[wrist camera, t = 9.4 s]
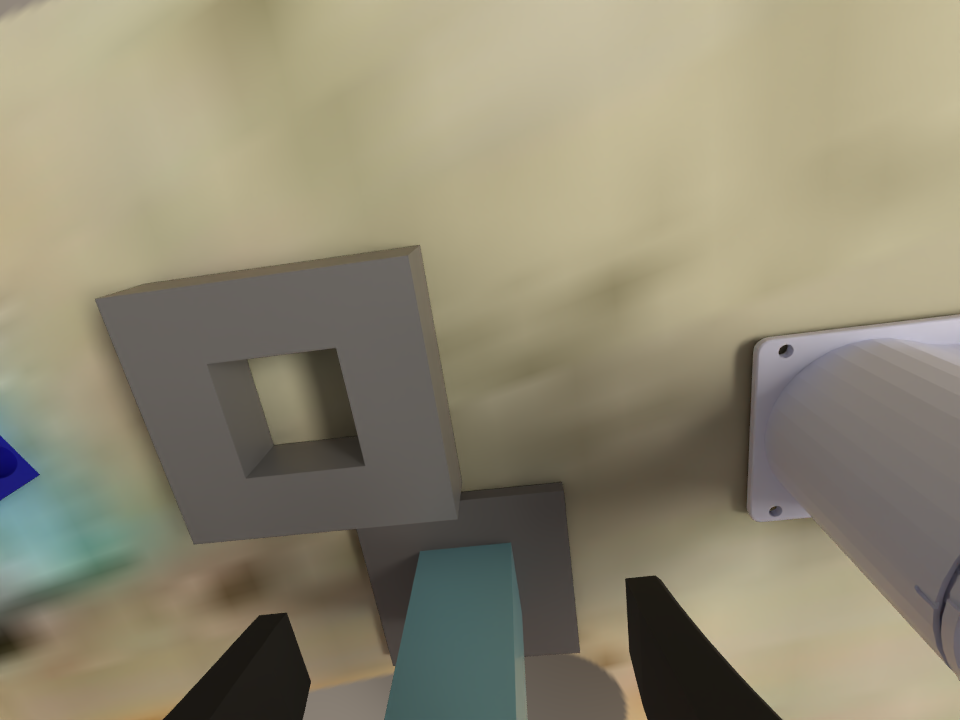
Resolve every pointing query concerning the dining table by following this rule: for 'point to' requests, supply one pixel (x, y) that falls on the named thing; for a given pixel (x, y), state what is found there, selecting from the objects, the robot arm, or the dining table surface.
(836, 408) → the robot arm
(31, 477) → the cable clip
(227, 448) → the socket block
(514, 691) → the plug
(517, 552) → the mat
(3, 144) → the dining table surface
